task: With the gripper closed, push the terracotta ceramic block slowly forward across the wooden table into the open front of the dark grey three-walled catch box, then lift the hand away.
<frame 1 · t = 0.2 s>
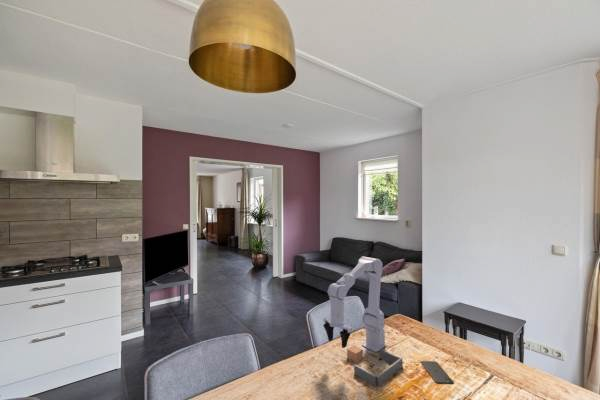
hand: (337, 343, 117), 10 cm above the table, tool pointing down, fingers open, 7 cm apart
terracotta block: (354, 358, 123), on the table
smartphone: (436, 373, 113), on the table
catch box: (378, 370, 114), on the table
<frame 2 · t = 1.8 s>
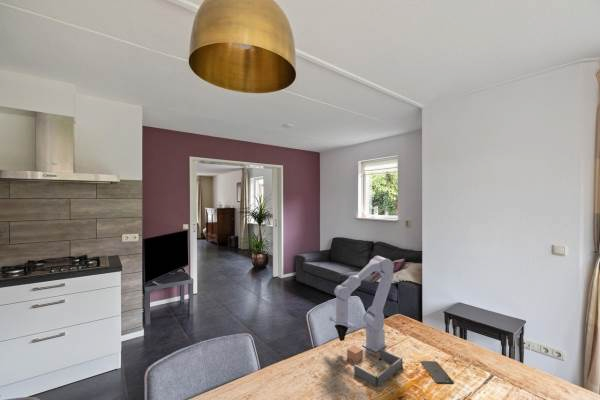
hand: (341, 339, 129), 5 cm above the table, tool pointing down, fingers closed
nothing on the table moved.
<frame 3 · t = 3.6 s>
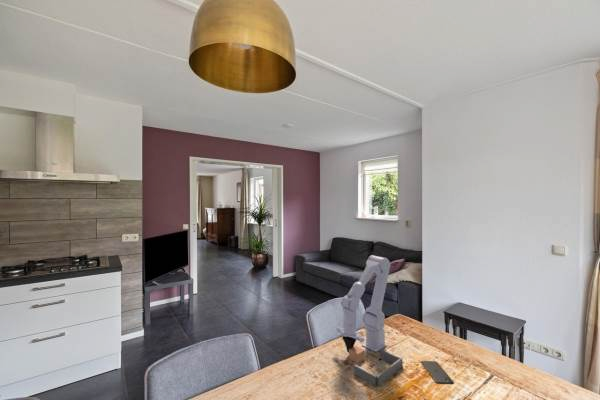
hand: (349, 352, 125), 1 cm above the table, tool pointing down, fingers closed
terracotta block: (356, 358, 122), on the table, touching gripper
everything else where it was.
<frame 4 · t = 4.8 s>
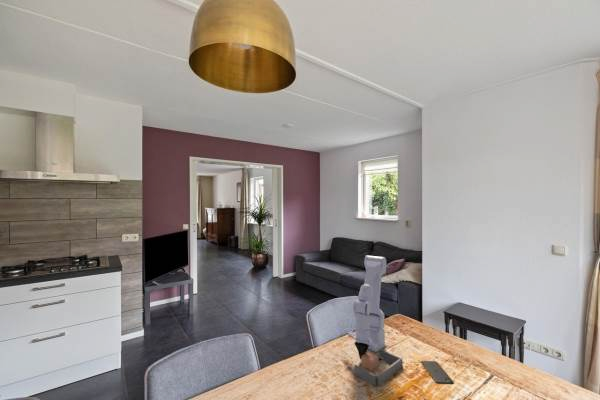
hand: (362, 358, 120), 1 cm above the table, tool pointing down, fingers closed
terracotta block: (369, 365, 117), on the table, touching gripper
everything else where it was.
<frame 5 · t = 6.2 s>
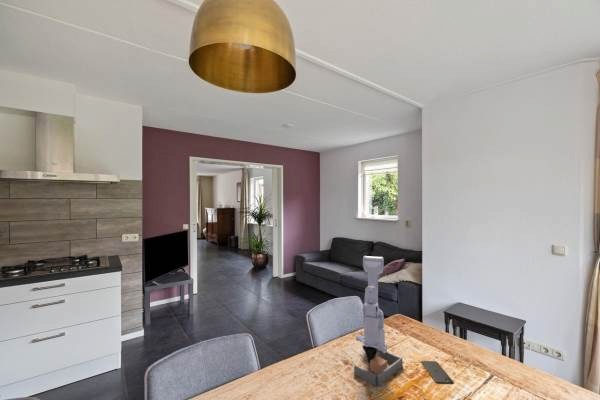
hand: (370, 362, 117), 1 cm above the table, tool pointing down, fingers closed
terracotta block: (378, 370, 114), on the table, touching gripper
everything else where it was.
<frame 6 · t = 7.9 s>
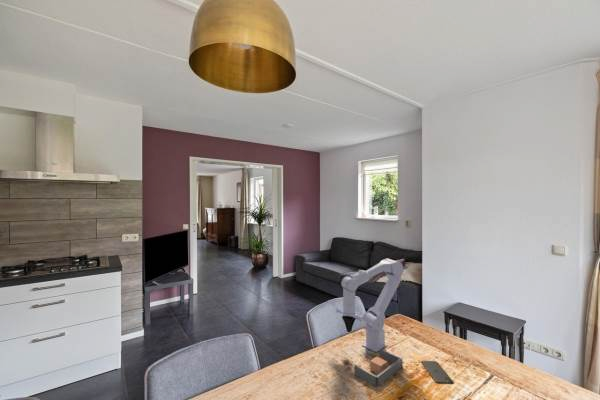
hand: (349, 331, 129), 9 cm above the table, tool pointing down, fingers closed
terracotta block: (378, 370, 114), on the table
everything else where it was.
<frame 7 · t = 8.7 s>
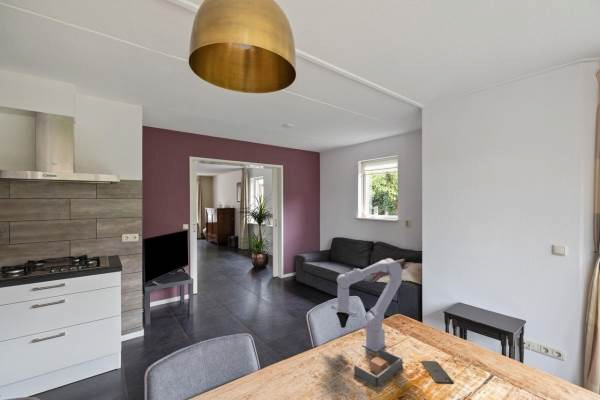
hand: (343, 326, 133), 9 cm above the table, tool pointing down, fingers closed
nothing on the table moved.
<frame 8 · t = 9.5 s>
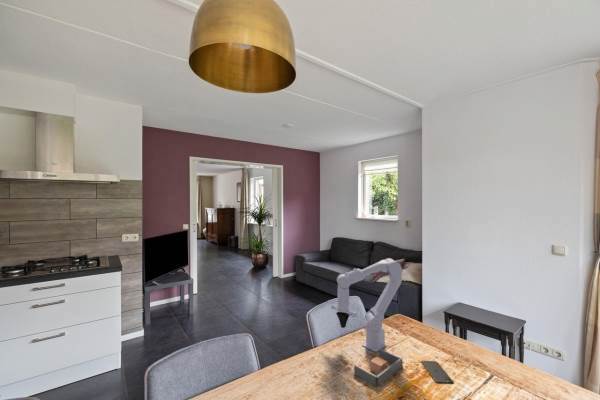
hand: (343, 326, 133), 9 cm above the table, tool pointing down, fingers closed
nothing on the table moved.
at the end: terracotta block inside the target area on the catch box (0.5 cm from its centre), point 0.0 cm above the catch box's base; terracotta block tilted 0°; terracotta block moved 12.4 cm from its start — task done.
